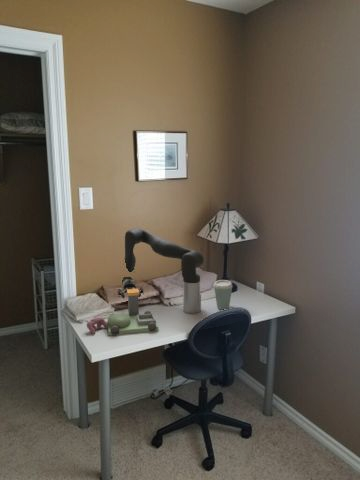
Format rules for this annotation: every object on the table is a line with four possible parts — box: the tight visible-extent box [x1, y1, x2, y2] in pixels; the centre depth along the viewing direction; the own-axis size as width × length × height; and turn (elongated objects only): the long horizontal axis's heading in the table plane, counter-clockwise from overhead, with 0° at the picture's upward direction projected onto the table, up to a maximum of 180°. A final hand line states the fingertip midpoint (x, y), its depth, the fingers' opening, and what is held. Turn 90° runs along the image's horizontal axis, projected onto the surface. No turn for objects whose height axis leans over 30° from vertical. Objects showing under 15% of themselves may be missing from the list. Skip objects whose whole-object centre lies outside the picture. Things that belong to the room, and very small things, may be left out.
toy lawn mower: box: [107, 310, 159, 336], centre depth 196 cm, size 24×16×5 cm
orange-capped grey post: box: [127, 288, 140, 316], centre depth 208 cm, size 6×6×14 cm
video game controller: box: [86, 316, 108, 335], centre depth 192 cm, size 10×5×7 cm, turn 142°
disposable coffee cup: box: [213, 279, 233, 311], centre depth 218 cm, size 11×11×15 cm
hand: (131, 296), depth 216 cm, fingers open, 8 cm apart
